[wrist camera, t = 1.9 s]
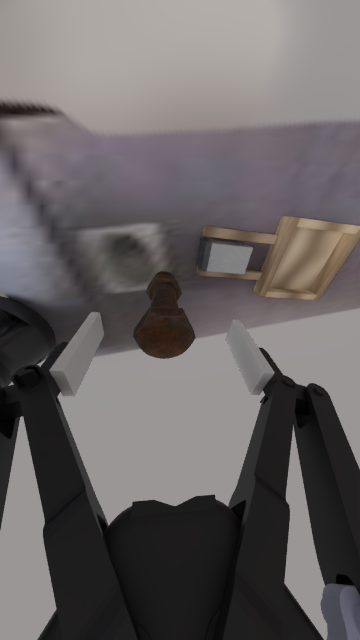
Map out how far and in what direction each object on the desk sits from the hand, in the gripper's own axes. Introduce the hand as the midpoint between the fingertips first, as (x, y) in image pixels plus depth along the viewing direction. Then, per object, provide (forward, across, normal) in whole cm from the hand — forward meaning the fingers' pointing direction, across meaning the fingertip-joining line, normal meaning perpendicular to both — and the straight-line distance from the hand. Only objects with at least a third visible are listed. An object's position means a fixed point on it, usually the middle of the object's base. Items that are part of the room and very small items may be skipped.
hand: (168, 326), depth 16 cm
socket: (+13, +16, +5) cm, 21 cm away
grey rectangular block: (+13, +8, +5) cm, 16 cm away
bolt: (+13, -1, 0) cm, 13 cm away
